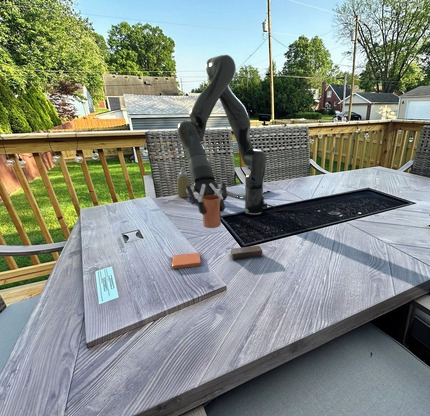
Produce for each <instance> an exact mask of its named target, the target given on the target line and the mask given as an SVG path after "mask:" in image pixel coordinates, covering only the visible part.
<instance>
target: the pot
mask: <svg viewBox="0 0 430 416" xmlns="http://www.w3.org/2000/svg"><path fill="white" fill-rule="evenodd" d="M201 202H203V205H204V209H205V214H204V215H202V225H203V227H204V228H207V229H217V228H219V227H221V223H222V221H221V213H222V212H221V211H220V196H217V195H206V196H203V197H202V201H201Z"/></svg>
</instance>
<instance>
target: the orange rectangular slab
mask: <svg viewBox="0 0 430 416" xmlns="http://www.w3.org/2000/svg"><path fill="white" fill-rule="evenodd" d="M201 265H202V262H201V255H200V252H192V253H183V254H174V255H173V254H172V269H173V270H175V269H182V268H190V267H198V266H199V267H201Z"/></svg>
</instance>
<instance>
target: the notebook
mask: <svg viewBox="0 0 430 416" xmlns="http://www.w3.org/2000/svg"><path fill="white" fill-rule="evenodd" d="M238 186H245V183H242V184H241V183H240V184H237V185H232V186H226V191H227V196H230V197H233V198H236V199H238V200H245V189H244V188H243V187H238ZM219 193H221V190H220V189H219ZM237 196H238V197H237ZM240 197H243V198H240Z"/></svg>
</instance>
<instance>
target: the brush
mask: <svg viewBox="0 0 430 416" xmlns="http://www.w3.org/2000/svg"><path fill="white" fill-rule="evenodd" d="M262 255H263V248H261V246H260V245H250V246H243V247H234V248H230V256H231V258H232V261H237V260H239V261H240V260H246V259H254V258H262Z"/></svg>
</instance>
